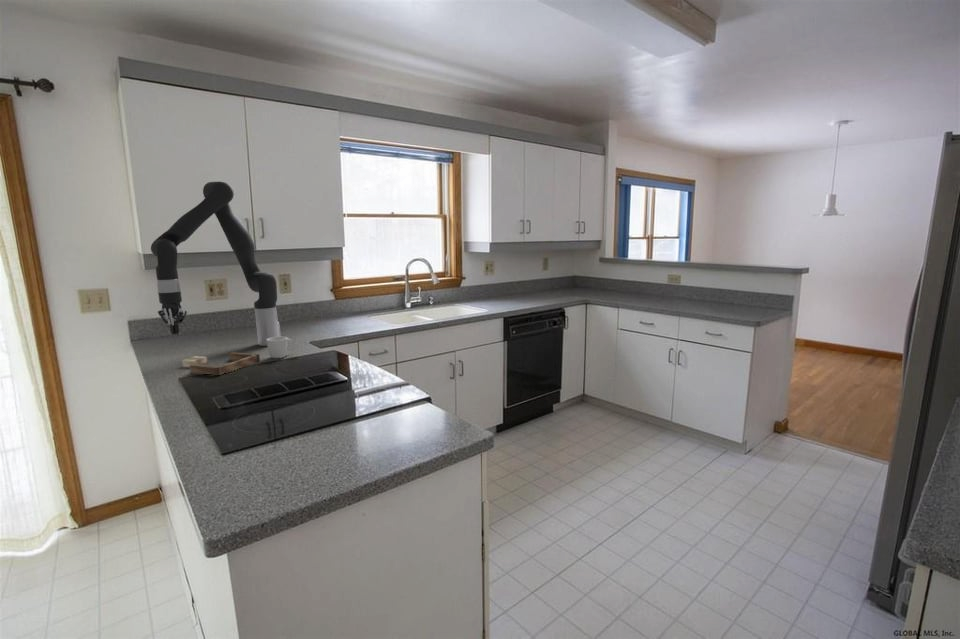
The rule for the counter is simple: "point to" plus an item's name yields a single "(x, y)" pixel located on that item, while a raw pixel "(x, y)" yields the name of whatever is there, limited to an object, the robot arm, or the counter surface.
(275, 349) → the cup
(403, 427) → the counter surface
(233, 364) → the wooden u-shaped bracket
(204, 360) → the maple tile
